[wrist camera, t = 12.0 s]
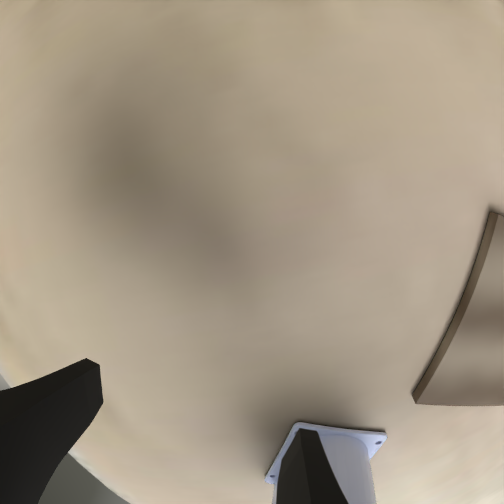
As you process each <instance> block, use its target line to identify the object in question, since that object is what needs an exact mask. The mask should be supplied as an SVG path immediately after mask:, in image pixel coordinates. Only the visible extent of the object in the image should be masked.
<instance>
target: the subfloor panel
mask: <svg viewBox="0 0 504 504" xmlns="http://www.w3.org/2000/svg"><path fill="white" fill-rule="evenodd" d="M412 397H413V399H414V401H415V404H426V405H445V406H501V405H504V217H503V216H501V215H499V214H496V213H492V212H490V214H489V218H488V222H487V225H486V229H485V233H484V236H483V240H482V243H481V246H480V249H479V253H478V256H477V259H476V262H475V265H474V268H473V270H472V273H471V276H470V279H469V281H468V284H467V287H466V289H465V292H464V294H463V297H462V299H461V302H460V304H459V306H458V309H457V311H456V313H455V316H454V318H453V320H452V322H451V324H450V327H449V329H448V331H447V333H446V335H445V337H444V339H443V341H442V343H441V345H440V347H439V349H438V351H437V353H436V355H435V357H434V358H433V360H432V362H431V364H430V366H429V368H428V369H427V371H426V373H425V375H424V376H423V378H422V380H421V381H420V383H419V385H418V386H417V388H416V390H415V391H414V393H413V395H412Z"/></svg>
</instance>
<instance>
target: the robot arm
mask: <svg viewBox="0 0 504 504" xmlns="http://www.w3.org/2000/svg"><path fill="white" fill-rule="evenodd" d="M102 404H103V395H102V386H101V376H100V365H99V364H97V363H95V362H93V361H91V360H89V359H87V358H86V359H83V360H81V361H78V362H76V363H74V364H72V365H69V366H67V367H65V368H63V369H60V370H58V371H56V372H53V373H51V374H49V375H46V376H44V377H41V378H39V379H36V380H34V381H31V382H28V383H25V384H22V385H19V386H16V387H13V388H10V389H6V390H2V391H0V504H38V501H39V499H40V497H41V495H42V493H43V491H44V489H45V487H46V485H47V483H48V481H49V480H50V478H51V476H52V475H53V473H54V471H55V469H56V468H57V466H58V464H59V463H60V462H61V460H62V459H63V457H64V456H65V455H66V454H67V453H68V451H69V450H70V449H71V448H72V446H73V445H74V444H75V443H76V441H77V440H78V439H79V438H80V436H81V435H82V434H83V433H84V431H85V430H86V429H87V428H88V426H89V425H90V424H91V422H92V421H93V419H94V418H95V416H96V414H97V413H98V411H99V409H100V407H101V406H102ZM386 439H387V434H386V433H384V432H373V431H361V430H352V429H343V428H335V427H328V426H321V425H315V424H308V423H303V422H298V423H295V424H294V425H293V427H292V429H291V431H290V433H289V435H288V437H287V439H286V441H285V442H284V444H283V446H282V448H281V450H280V452H279V454H278V455H277V457H276V459H275V461H274V463H273V464H272V466H271V468H270V470H269V471H268V473H267V475H266V477H265V482H267V483H270V484H274V492H273V500H272V504H376V496H375V490H374V483H373V477H372V471H371V465H370V459H371V458H372V457H373V455H374V454H375V453H376V452H377V451H378V449H379V448H380V447H381V445H382V444H383V443H384V442H385V440H386Z"/></svg>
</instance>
